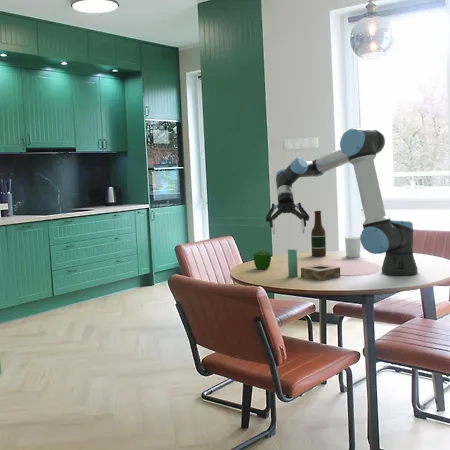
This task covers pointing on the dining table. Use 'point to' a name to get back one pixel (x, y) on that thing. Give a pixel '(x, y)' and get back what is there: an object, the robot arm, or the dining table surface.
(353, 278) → the dining table surface
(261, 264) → the bell pepper
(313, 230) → the beer bottle
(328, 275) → the socket block
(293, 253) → the peg
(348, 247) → the white cup
